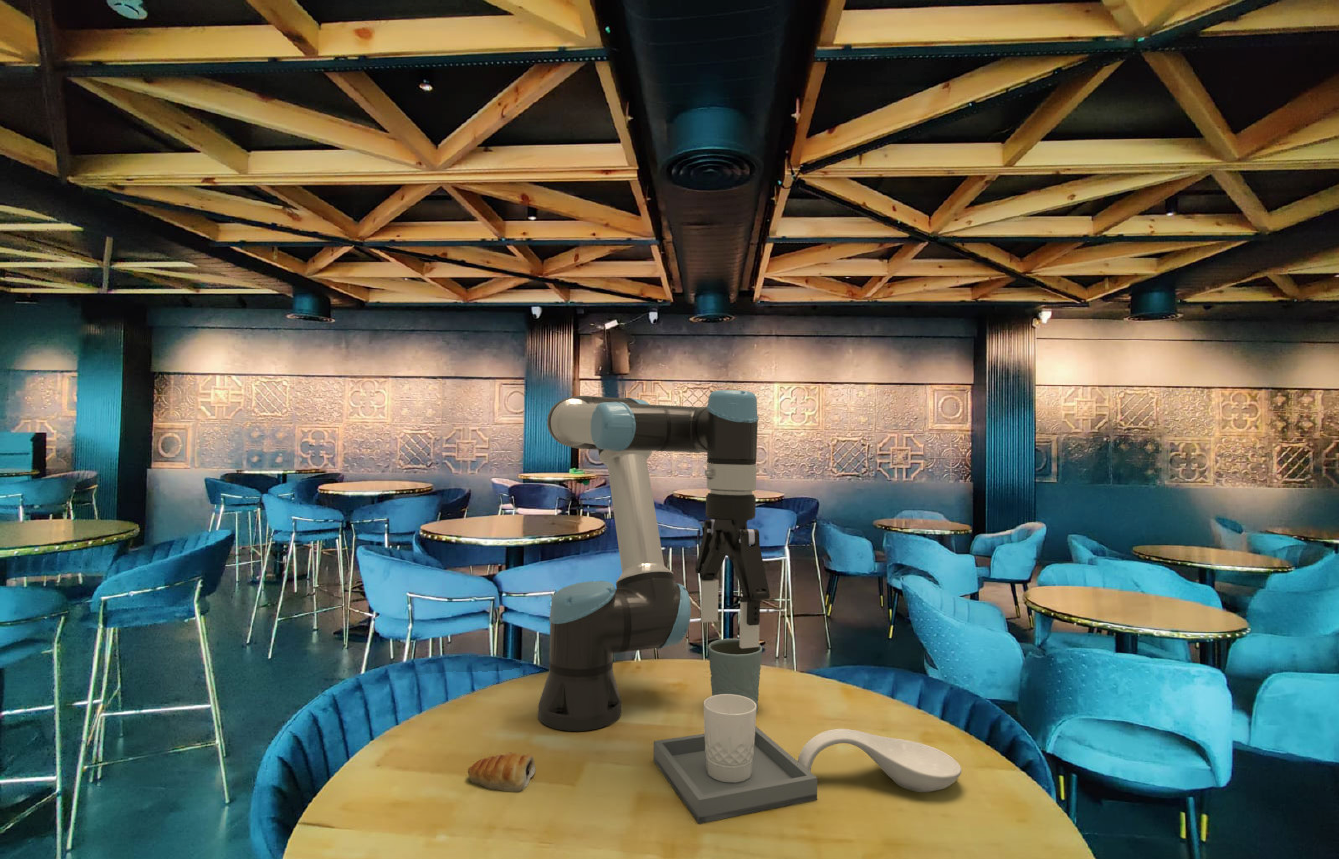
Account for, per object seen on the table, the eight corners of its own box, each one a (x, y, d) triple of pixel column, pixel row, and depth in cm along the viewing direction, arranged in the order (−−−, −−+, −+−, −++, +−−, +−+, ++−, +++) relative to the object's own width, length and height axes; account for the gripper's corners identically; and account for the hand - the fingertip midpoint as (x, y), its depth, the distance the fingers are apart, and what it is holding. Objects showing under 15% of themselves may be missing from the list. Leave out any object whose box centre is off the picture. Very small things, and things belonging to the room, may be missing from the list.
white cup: (754, 761, 98) (755, 695, 98) (756, 787, 90) (757, 716, 90) (703, 758, 99) (704, 692, 99) (701, 783, 91) (702, 712, 91)
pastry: (459, 791, 90) (460, 763, 90) (478, 768, 96) (479, 742, 97) (524, 795, 89) (525, 767, 89) (538, 772, 96) (539, 746, 96)
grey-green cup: (769, 707, 121) (770, 643, 122) (748, 726, 113) (748, 657, 113) (721, 696, 126) (722, 635, 127) (697, 713, 118) (698, 648, 118)
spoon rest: (938, 763, 100) (938, 717, 101) (977, 804, 89) (977, 752, 89) (790, 763, 100) (790, 717, 100) (809, 804, 88) (810, 751, 88)
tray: (653, 760, 99) (653, 741, 99) (755, 744, 105) (755, 726, 105) (698, 823, 82) (699, 800, 82) (817, 799, 88) (817, 778, 89)
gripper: (677, 487, 106) (674, 614, 106) (747, 499, 83) (744, 662, 82) (718, 487, 109) (715, 611, 108) (796, 499, 86) (793, 657, 85)
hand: (727, 633), depth 95 cm, fingers open, 13 cm apart
